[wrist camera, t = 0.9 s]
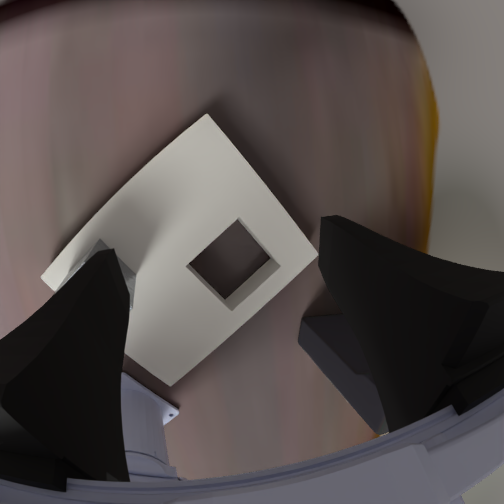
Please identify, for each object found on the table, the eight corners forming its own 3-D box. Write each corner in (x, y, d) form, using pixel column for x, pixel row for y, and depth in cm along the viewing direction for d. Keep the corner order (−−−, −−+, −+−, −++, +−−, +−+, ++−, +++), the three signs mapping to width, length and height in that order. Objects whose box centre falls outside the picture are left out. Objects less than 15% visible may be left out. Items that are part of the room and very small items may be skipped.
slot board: (168, 371, 29) (170, 386, 27) (49, 267, 23) (40, 277, 21) (306, 247, 30) (318, 254, 28) (201, 118, 24) (206, 113, 22)
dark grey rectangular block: (294, 347, 33) (374, 443, 19) (301, 311, 32) (393, 401, 18) (374, 336, 36) (459, 404, 22) (382, 304, 35) (477, 366, 21)
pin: (103, 307, 23) (93, 347, 18) (67, 273, 22) (45, 305, 16) (136, 274, 23) (132, 308, 18) (99, 238, 22) (84, 261, 16)
